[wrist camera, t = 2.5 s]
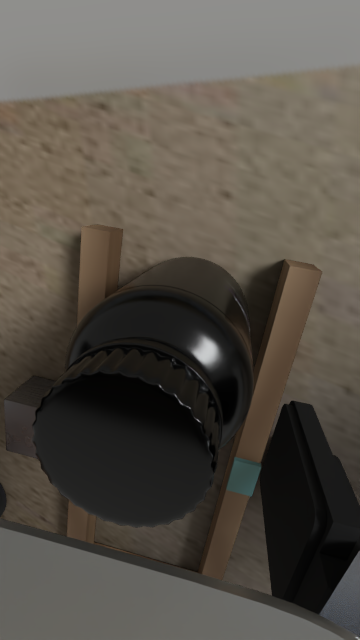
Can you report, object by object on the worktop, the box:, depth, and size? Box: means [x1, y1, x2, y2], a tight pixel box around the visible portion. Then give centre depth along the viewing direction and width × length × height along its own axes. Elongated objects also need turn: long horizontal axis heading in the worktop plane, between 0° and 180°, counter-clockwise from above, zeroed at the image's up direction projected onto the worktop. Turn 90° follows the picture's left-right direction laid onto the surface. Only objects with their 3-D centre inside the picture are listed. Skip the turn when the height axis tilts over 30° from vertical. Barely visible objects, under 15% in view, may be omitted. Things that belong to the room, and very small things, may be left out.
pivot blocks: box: [4, 376, 56, 459], centre depth 21 cm, size 20×4×3 cm, turn 81°
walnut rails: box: [67, 225, 322, 580], centre depth 21 cm, size 12×28×2 cm, turn 171°
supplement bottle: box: [32, 257, 254, 528], centre depth 13 cm, size 7×7×12 cm
